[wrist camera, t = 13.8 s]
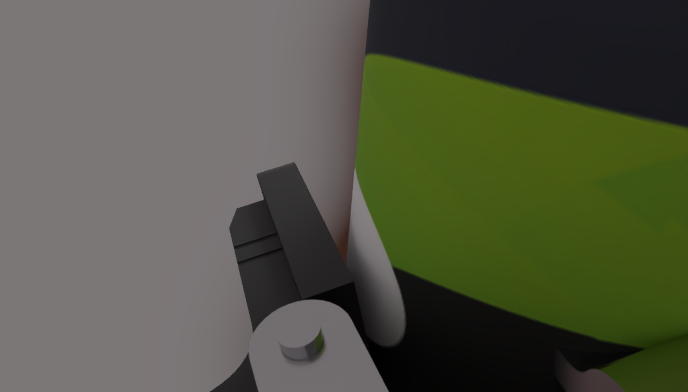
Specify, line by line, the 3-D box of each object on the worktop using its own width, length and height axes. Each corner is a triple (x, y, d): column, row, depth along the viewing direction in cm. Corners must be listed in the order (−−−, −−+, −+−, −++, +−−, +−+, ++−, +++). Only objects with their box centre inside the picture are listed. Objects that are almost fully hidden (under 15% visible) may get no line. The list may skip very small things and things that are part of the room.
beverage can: (566, 415, 16) (972, -215, 7) (566, 679, 12) (1852, -71, 2) (361, 354, 18) (449, -261, 8) (291, 575, 13) (284, -234, 3)
